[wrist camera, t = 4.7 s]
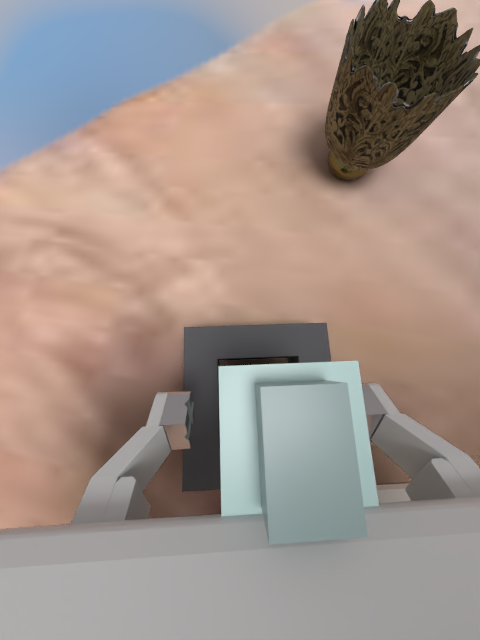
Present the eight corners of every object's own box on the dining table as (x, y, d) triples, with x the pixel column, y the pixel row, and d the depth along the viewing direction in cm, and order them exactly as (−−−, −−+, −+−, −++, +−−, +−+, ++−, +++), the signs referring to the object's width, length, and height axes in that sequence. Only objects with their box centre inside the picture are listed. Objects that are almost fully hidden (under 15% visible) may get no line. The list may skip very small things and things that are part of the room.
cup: (389, 142, 21) (485, 6, 13) (383, 210, 19) (487, 103, 11) (310, 125, 21) (357, -20, 13) (297, 192, 19) (342, 72, 11)
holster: (312, 329, 17) (326, 322, 14) (326, 462, 15) (345, 481, 13) (191, 333, 16) (184, 327, 14) (190, 470, 15) (182, 491, 12)
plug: (282, 364, 16) (386, 359, 5) (286, 424, 15) (420, 563, 4) (226, 367, 16) (215, 365, 5) (228, 427, 15) (218, 579, 4)
